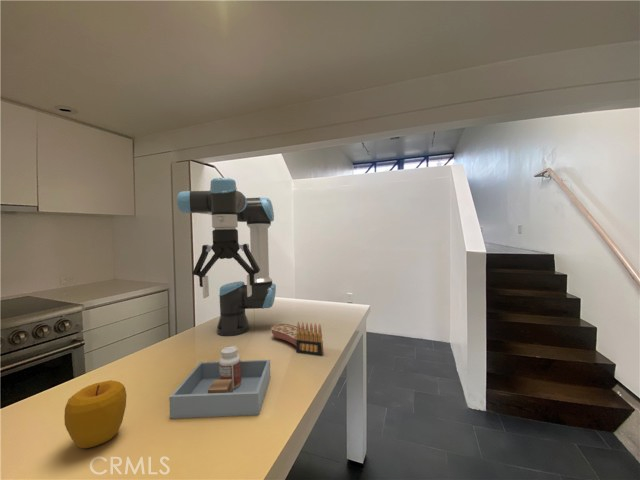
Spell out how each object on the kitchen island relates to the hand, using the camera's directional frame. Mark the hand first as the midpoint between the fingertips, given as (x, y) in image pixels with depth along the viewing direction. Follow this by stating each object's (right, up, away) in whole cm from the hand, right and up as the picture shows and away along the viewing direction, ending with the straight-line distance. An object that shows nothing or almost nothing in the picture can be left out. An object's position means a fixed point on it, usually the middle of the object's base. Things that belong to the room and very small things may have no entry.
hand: (227, 296), depth 85 cm
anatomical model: (+17, -27, +32) cm, 45 cm away
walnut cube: (+2, -27, -11) cm, 29 cm away
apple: (-22, -29, -23) cm, 43 cm away
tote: (+2, -27, -6) cm, 28 cm away
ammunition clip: (+25, -26, +20) cm, 41 cm away
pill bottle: (+2, -27, -2) cm, 27 cm away
